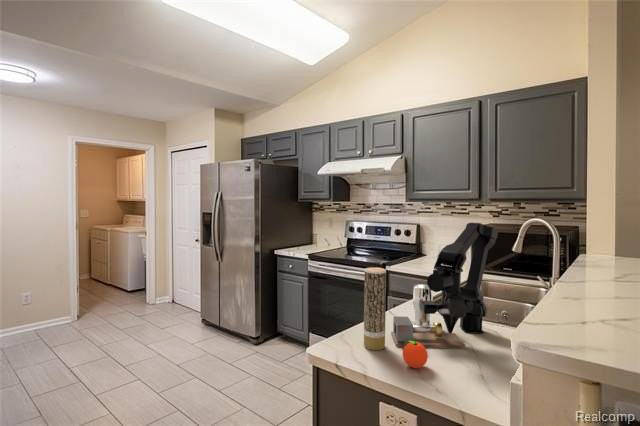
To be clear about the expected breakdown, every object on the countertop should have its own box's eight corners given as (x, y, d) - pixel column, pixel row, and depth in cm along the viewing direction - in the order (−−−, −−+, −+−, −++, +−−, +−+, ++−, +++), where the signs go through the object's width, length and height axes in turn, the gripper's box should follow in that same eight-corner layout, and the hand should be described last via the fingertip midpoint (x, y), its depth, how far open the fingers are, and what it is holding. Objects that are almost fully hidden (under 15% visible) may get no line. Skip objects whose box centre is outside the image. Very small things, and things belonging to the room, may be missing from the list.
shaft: (438, 333, 118) (438, 320, 118) (442, 339, 114) (442, 325, 113) (402, 333, 119) (403, 319, 119) (405, 338, 114) (405, 324, 114)
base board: (454, 335, 121) (454, 333, 121) (465, 348, 111) (465, 345, 111) (391, 334, 122) (391, 331, 122) (396, 346, 112) (396, 343, 112)
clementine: (394, 362, 101) (395, 338, 101) (412, 357, 104) (412, 334, 104) (414, 375, 94) (415, 349, 94) (432, 369, 97) (433, 344, 97)
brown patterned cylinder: (389, 346, 112) (390, 269, 111) (377, 353, 107) (378, 273, 106) (371, 340, 117) (372, 266, 116) (359, 346, 112) (360, 269, 111)
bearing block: (407, 333, 120) (407, 316, 120) (412, 342, 112) (413, 325, 112) (393, 332, 121) (393, 316, 120) (397, 342, 113) (397, 324, 112)
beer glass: (433, 330, 126) (433, 289, 125) (413, 328, 127) (414, 288, 127) (430, 323, 133) (431, 284, 132) (412, 321, 134) (412, 283, 133)
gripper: (429, 292, 107) (428, 342, 108) (490, 293, 107) (489, 343, 107) (420, 283, 118) (419, 328, 119) (475, 284, 118) (474, 329, 118)
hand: (449, 332), depth 116 cm, fingers closed
